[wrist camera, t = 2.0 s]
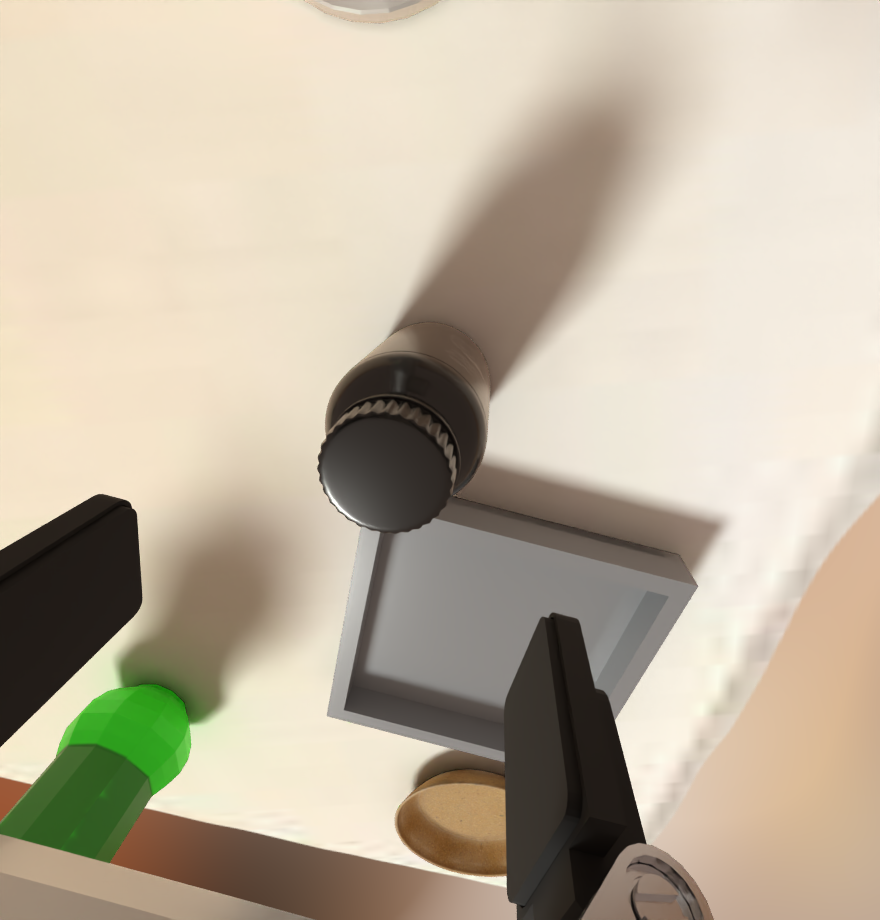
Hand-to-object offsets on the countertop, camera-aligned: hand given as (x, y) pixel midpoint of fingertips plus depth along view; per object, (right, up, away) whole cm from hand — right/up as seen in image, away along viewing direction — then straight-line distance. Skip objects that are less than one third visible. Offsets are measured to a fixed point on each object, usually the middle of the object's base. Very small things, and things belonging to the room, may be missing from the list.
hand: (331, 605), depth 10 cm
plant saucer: (+6, -29, +33) cm, 45 cm away
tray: (+6, -9, +23) cm, 26 cm away
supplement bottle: (+2, +8, +16) cm, 18 cm away
